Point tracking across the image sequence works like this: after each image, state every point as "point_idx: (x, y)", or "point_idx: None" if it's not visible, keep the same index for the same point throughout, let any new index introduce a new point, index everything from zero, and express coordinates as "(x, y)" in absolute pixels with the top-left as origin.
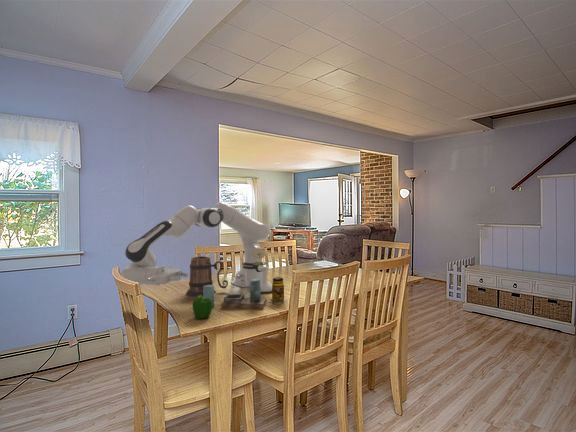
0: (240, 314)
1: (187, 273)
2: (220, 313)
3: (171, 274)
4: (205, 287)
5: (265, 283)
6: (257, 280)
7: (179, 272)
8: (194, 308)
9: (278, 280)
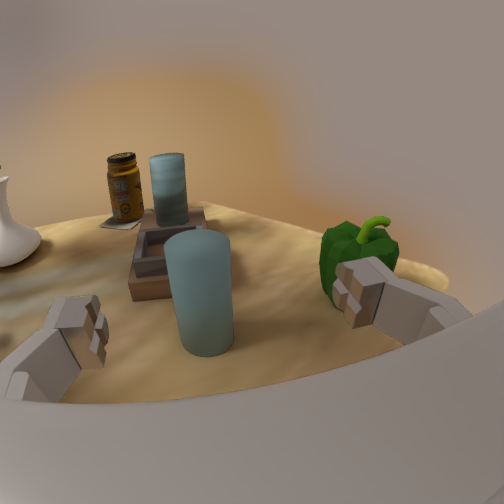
0: (266, 239)
1: (64, 299)
2: (280, 274)
3: (392, 351)
4: (229, 246)
5: (21, 225)
6: (170, 154)
7: (25, 391)
8: (395, 265)
9: (135, 156)
